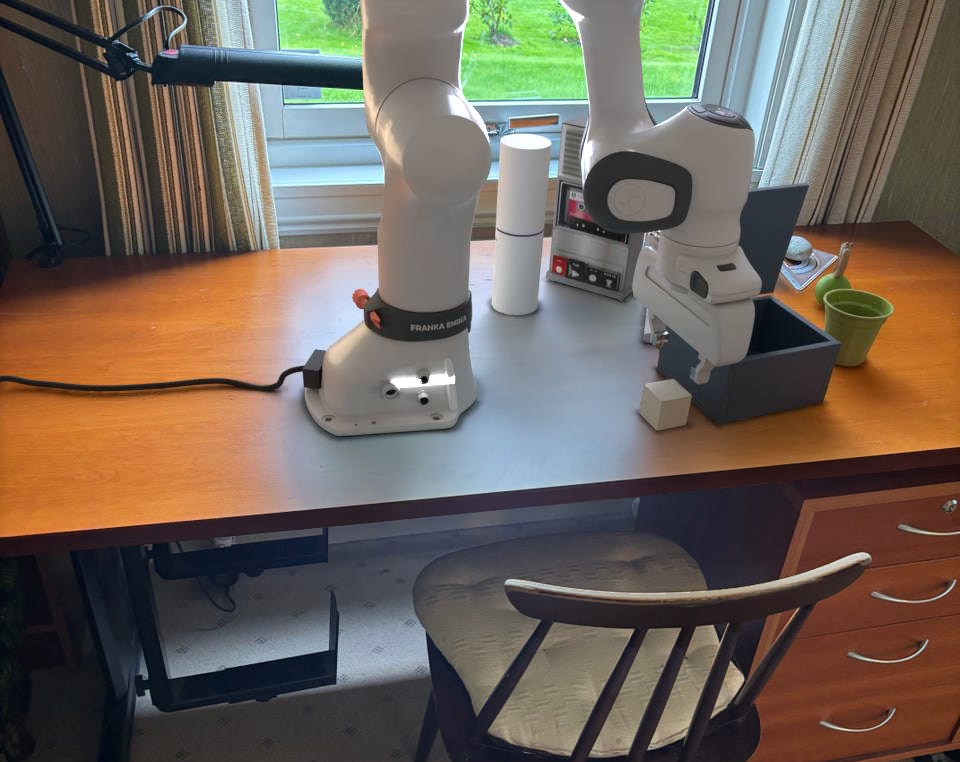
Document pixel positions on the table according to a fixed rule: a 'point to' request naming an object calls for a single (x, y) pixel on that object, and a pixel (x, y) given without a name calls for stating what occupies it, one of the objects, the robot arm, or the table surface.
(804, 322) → the chest
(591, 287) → the cassette tape recorder
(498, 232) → the cylindrical container
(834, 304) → the plant pot
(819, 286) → the green maraca
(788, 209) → the lid
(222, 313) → the table surface
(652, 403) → the block
